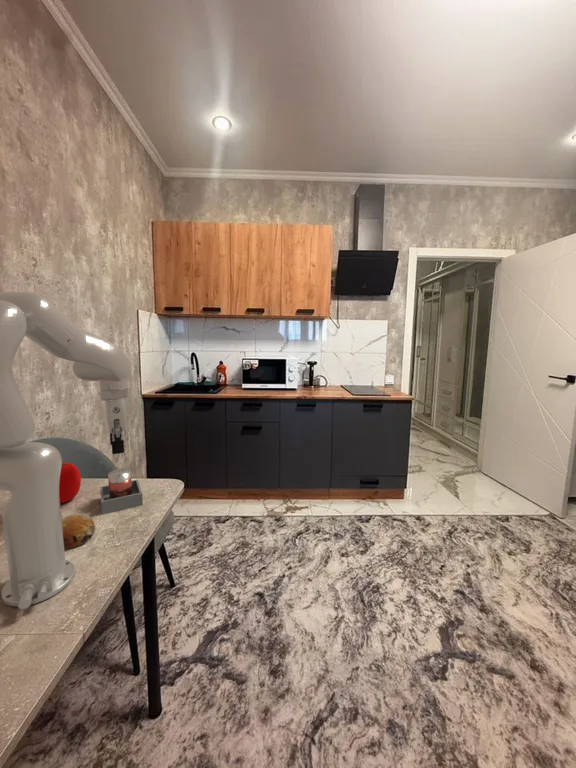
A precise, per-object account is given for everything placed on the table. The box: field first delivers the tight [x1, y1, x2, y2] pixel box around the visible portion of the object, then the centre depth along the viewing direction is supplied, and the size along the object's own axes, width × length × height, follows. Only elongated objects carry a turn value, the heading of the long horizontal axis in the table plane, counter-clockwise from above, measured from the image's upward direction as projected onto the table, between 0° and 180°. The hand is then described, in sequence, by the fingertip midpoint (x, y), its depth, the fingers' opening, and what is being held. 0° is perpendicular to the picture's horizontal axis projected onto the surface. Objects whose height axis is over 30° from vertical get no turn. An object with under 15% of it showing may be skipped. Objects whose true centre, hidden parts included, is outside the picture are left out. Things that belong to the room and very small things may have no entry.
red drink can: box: [107, 467, 133, 499], centre depth 104 cm, size 6×6×9 cm
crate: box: [99, 479, 144, 515], centre depth 105 cm, size 11×11×4 cm
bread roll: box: [61, 513, 96, 550], centre depth 87 cm, size 10×10×8 cm
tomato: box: [59, 462, 82, 504], centre depth 105 cm, size 12×12×13 cm
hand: (117, 448), depth 102 cm, fingers open, 9 cm apart
